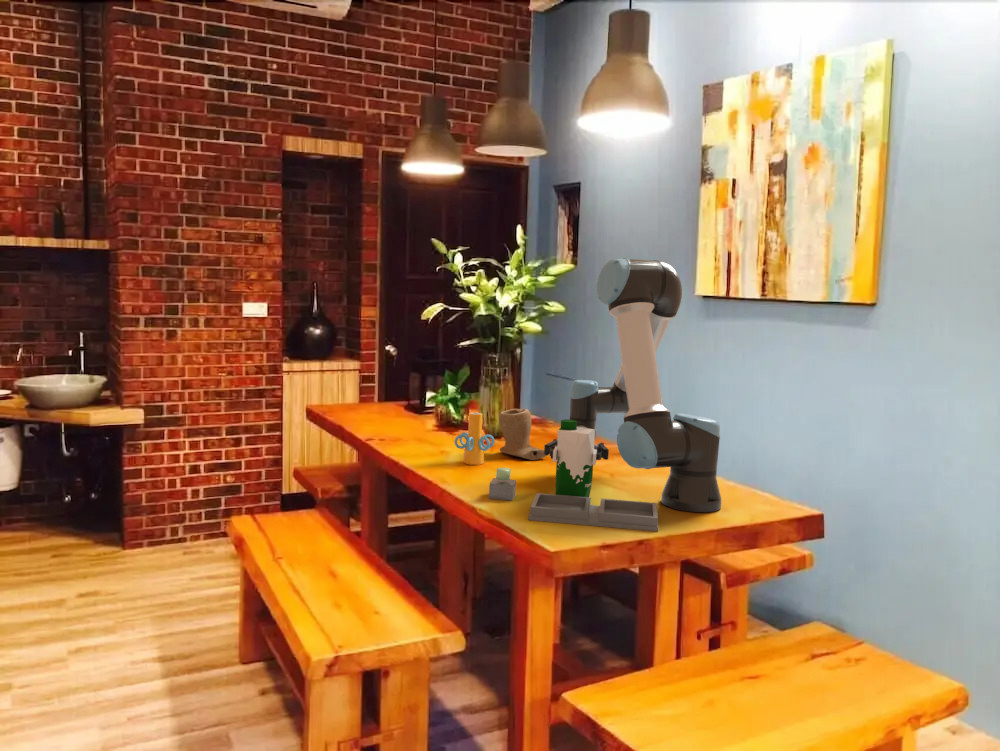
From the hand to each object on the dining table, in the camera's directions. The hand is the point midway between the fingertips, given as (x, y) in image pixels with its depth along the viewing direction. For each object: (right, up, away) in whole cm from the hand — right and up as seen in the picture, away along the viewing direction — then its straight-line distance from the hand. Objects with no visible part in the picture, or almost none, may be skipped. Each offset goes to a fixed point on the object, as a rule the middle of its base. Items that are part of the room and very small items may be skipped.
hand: (574, 458), depth 219 cm
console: (-18, -11, +8) cm, 22 cm away
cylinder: (-26, -6, +45) cm, 52 cm away
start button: (-18, -6, +7) cm, 20 cm away
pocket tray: (+4, -14, -7) cm, 16 cm away
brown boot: (-12, -5, +57) cm, 59 cm away
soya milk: (0, -11, +6) cm, 13 cm away
